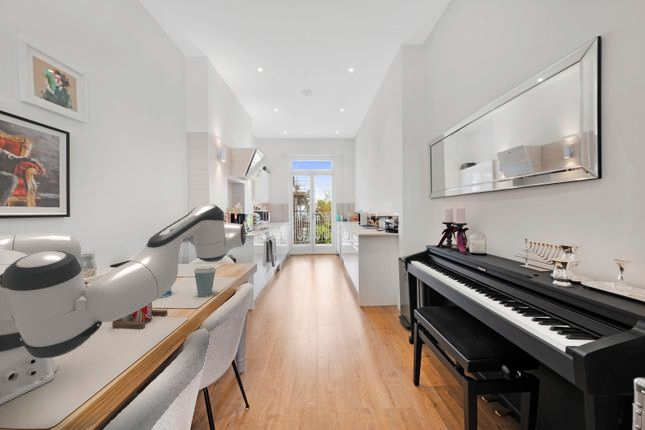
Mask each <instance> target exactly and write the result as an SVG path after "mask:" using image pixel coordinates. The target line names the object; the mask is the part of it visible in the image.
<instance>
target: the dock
mask: <svg viewBox="0 0 645 430" xmlns="http://www.w3.org/2000/svg"><path fill="white" fill-rule="evenodd" d="M166 316H168V310H167V309H166V310H165V309H152V317H166ZM111 323H112V328H113V329H133V330H134V329H135V330H143V329H145V328H146V323H145V322H132V321H131V322H130V321H122V318H120V319H118V320H115V321H112V322H111Z"/></svg>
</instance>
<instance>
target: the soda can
mask: <svg viewBox="0 0 645 430" xmlns="http://www.w3.org/2000/svg"><path fill="white" fill-rule="evenodd" d="M152 310H153V302H152V303H150V304H148V305H147V306H145V307H143V308H141V309H139V310H138V311H136V312H134V313H131V318H132V321H131V322H145V324H146V323H148V322H149V321H150V320H152V318H153V316H152Z"/></svg>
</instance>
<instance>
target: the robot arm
mask: <svg viewBox="0 0 645 430" xmlns="http://www.w3.org/2000/svg"><path fill="white" fill-rule="evenodd" d="M224 214H225V212H224V210H223V209H221V208H220V207H219V206H218V205H216V204H213V203H211V204H210V203H208V204H207V203H206V204H205V203H204V204H201V205H198V206H196V207H194V208H193V209H192V210H191V211H190V212H188V213H187V214H186V215H184V216H182V217H181V218H179V219H178V220H175V221H173V223H171V224H169V225H167V226H166V227H164V228H163V229H161V230H160V231H158V232H157V233H155V234H154V235H152V236H151V237H149V239H148V241H147V243H146V245H145V247H144V248H143V250H142V251H141V252H140V253H139V254H138V255H137V256H135V257H134V259H131V260H130V261H128V262H126V263H123V264H121V265H119V266H117V267H116V268H114V269H112V270H110V271H109V272H107V273H105V274H103V275H102V276H100V277H99V278H98V279H96V280H95V281H93V282H88V283H89V284H86V285H87V289H86V285H85V282H86V281H85V279H84V276H83V274H82V266H81V264H80V262H79V258H80V257H81V254H82V248H81V247H82V246H81V244H80V242H79V240H78V239H77V238H76V237H75V236H74V235H72V234H69V233H61V232H60V233H59V232H34V233H16V234H15V233H12V234H0V405H2V404H5V403H6V402H9V401H11V400H13V399H15V398H18V397H20V396H22V395H23V394H26V393H27V392H30V391H32V390H34V389H36V388H38V387H40V386H43V385H45V384H46V383H48V382H50V381H52V380H53V379H55V376H54V374H55V372H56V371H57V370H58V365H57V363H56V361H55V359H54V358H57V357H60V356H61V357H62V356H63V355H67V354H69V353H70V352H72V351H75V349H77V348H79V347H80V346H82V345H83V344H84V343H85V342H86V341H88V340H89V339H90V338H91V337H92V336H93V335H94V334H96V332H97V331H99V330H100V328H101V326H102V323H110V322H111V323H112V321H115V320H118V319H120V318H123V317H125V316H127V315H129V314H131V313H134V312H136V311H138V310H139V309H141V308H143V307H145V306H147V305H148V304H150V303H152V304H153V302H155V301H156V300H158V299H160V298H159V297H161V296H162V295H164V294H165V293H166V292H167V291H168V290H169V289H170V288H171V289H172V287H173V286H174V284H175V282H176V280H177V278H178V273H179V257H180V252H181V251H180V250H181V245H182V244H183V243H190V244H192V246H193V247H194V250H195V253H196V257H197V258H198V260H201V261H203V262H206V263H216V262H219V261H221V260H223V258H224V257H225V256H226V255H228V252H229V251H231V250H232V249H235V248H239V247H243V246H244V245H245V243H246V239H247V236H246V229H245V227H244V225H243V224H240V223H234V222H225V215H224ZM84 281H85V282H84ZM161 298H162V297H161Z"/></svg>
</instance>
